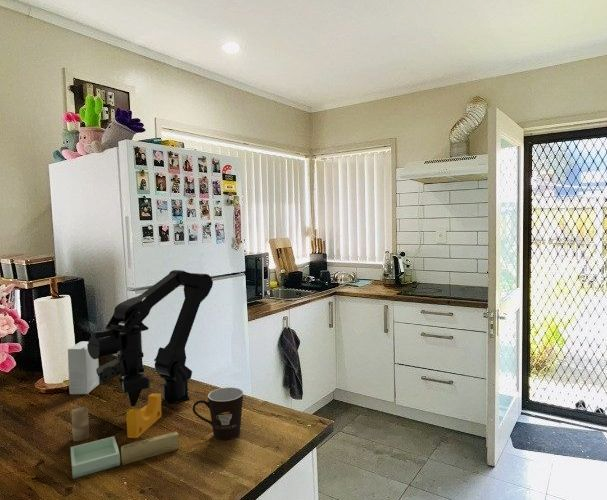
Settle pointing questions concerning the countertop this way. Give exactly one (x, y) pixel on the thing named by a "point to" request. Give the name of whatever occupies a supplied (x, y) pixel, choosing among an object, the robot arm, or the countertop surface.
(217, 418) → the coffee mug
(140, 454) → the bar
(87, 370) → the skincare box
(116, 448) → the tray
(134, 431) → the pipe clamp
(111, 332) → the robot arm
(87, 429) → the oak dowel
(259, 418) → the countertop surface
